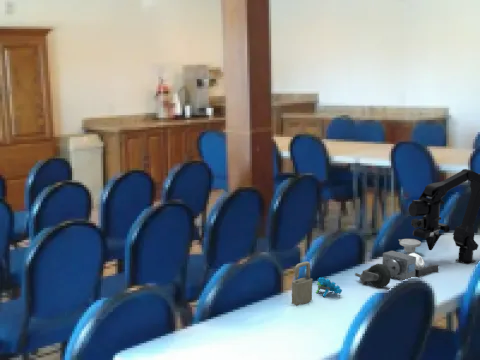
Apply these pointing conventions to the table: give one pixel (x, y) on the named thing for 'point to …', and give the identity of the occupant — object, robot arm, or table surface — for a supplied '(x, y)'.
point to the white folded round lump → (418, 261)
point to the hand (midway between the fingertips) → (430, 249)
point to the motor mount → (405, 266)
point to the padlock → (302, 286)
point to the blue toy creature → (327, 286)
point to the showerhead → (410, 245)
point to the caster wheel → (375, 275)
